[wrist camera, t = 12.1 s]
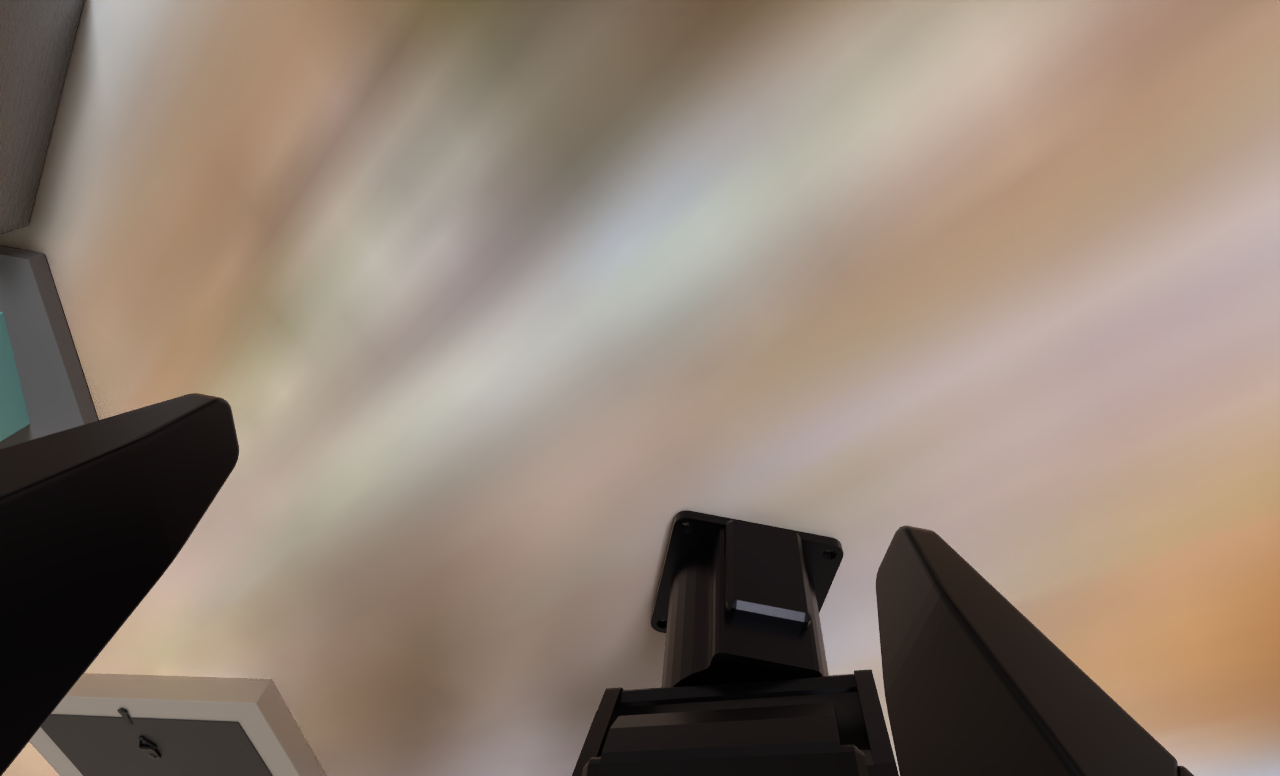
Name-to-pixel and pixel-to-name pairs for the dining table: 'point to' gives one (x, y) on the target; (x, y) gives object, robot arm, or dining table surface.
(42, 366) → the dark grey pad
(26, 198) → the grey holder
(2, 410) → the teal block
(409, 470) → the dining table surface
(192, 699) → the picture frame
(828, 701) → the robot arm
